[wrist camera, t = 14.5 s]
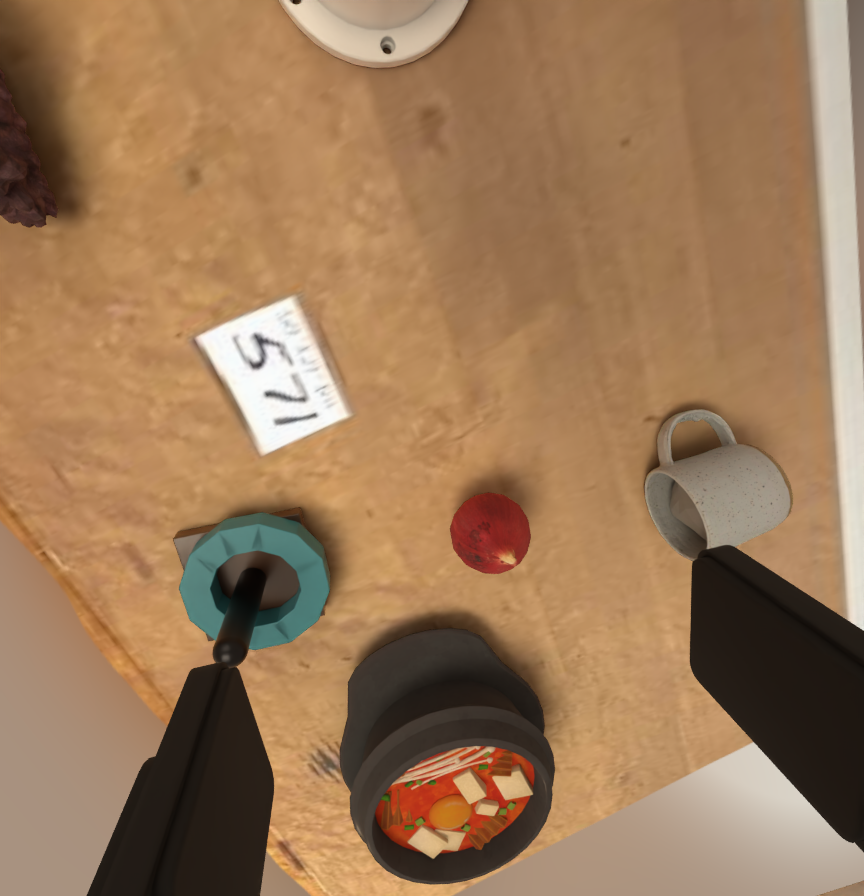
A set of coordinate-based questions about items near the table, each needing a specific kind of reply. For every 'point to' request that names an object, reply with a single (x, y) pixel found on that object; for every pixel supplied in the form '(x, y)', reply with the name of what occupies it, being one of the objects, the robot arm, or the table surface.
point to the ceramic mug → (715, 491)
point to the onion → (490, 533)
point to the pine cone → (20, 170)
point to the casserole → (444, 758)
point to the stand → (245, 589)
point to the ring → (265, 536)
